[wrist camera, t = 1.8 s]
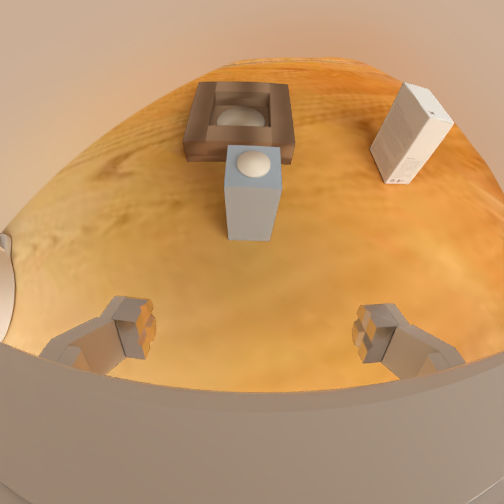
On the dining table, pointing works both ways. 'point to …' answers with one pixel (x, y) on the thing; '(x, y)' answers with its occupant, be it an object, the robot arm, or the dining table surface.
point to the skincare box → (409, 134)
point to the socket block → (239, 119)
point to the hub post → (252, 191)
